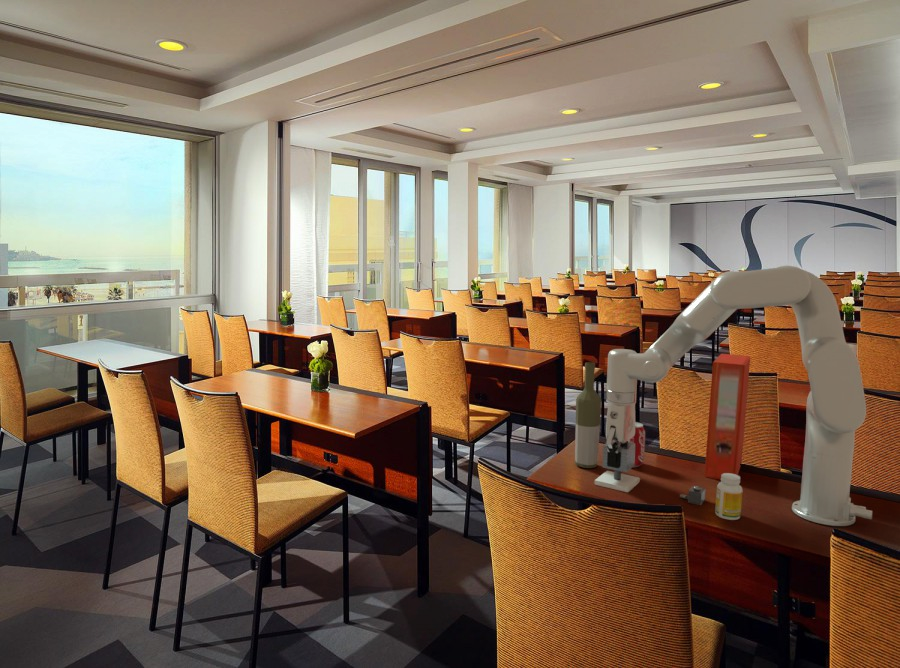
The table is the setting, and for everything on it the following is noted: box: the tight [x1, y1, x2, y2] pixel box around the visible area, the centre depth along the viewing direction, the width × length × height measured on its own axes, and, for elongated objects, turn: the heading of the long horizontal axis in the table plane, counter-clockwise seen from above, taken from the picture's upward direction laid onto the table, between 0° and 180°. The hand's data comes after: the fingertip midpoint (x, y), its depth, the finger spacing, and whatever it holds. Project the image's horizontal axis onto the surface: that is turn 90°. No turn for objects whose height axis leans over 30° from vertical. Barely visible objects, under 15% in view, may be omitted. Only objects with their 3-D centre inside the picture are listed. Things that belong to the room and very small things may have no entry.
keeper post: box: [594, 470, 641, 493], centre depth 159 cm, size 9×9×7 cm
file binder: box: [704, 353, 751, 481], centre depth 168 cm, size 8×17×32 cm, turn 150°
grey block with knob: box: [679, 485, 706, 506], centre depth 148 cm, size 5×4×4 cm
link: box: [602, 439, 635, 473], centre depth 158 cm, size 6×6×6 cm
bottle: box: [574, 361, 602, 469], centre depth 171 cm, size 7×7×30 cm
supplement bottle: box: [714, 473, 744, 521], centre depth 139 cm, size 5×5×10 cm
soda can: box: [630, 421, 646, 468], centre depth 173 cm, size 7×7×12 cm
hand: (618, 462), depth 158 cm, fingers closed on link, 6 cm apart
